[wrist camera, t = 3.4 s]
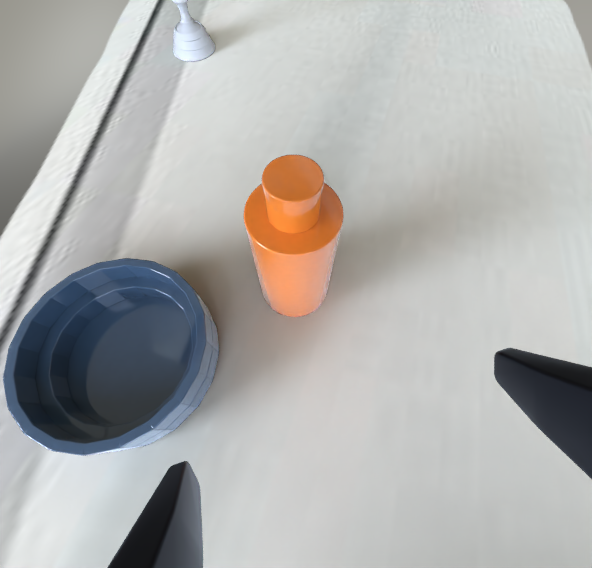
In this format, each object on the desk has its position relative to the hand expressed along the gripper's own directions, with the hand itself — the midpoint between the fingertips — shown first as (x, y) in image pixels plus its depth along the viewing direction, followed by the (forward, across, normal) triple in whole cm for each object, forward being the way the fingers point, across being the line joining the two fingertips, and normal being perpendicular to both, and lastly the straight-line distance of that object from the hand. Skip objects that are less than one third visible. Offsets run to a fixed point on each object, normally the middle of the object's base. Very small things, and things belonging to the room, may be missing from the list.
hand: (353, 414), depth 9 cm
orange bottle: (+17, -1, +3) cm, 17 cm away
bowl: (+15, +11, +4) cm, 19 cm away
